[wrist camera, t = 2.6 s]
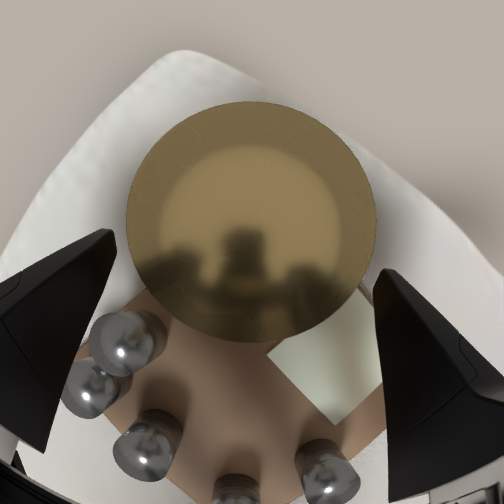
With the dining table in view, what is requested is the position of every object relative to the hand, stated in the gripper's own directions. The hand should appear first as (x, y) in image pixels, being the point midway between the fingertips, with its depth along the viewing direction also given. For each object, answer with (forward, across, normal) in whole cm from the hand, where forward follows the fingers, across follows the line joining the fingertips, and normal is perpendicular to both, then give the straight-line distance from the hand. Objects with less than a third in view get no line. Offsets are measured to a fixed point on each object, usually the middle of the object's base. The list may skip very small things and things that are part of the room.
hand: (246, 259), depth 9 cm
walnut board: (+1, -1, +11) cm, 11 cm away
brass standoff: (+6, 0, +5) cm, 8 cm away
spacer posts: (-1, +1, +12) cm, 12 cm away
